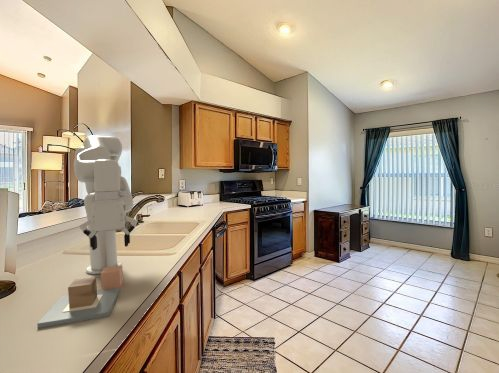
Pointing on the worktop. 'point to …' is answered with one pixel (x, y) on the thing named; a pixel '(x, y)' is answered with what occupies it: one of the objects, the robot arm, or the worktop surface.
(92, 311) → the baseplate
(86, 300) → the walnut block
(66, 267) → the worktop surface
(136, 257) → the worktop surface
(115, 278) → the terracotta block
